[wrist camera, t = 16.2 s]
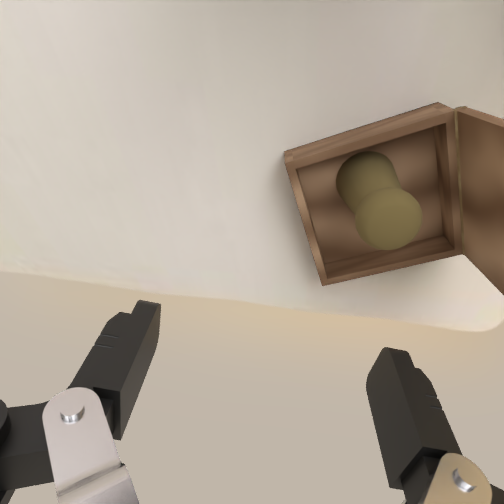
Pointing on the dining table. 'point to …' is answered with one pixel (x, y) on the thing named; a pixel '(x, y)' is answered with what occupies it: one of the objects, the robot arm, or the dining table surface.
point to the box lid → (481, 190)
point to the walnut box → (411, 180)
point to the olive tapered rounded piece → (378, 201)
